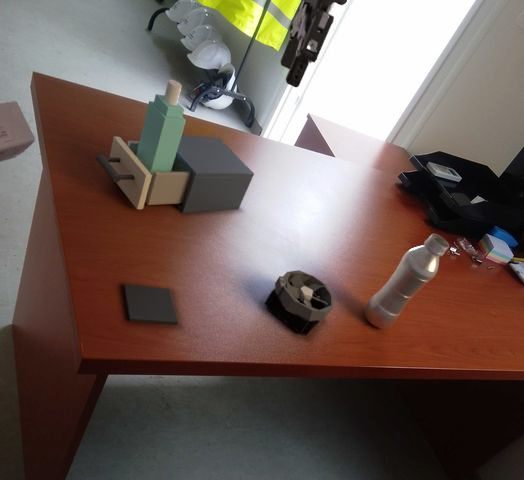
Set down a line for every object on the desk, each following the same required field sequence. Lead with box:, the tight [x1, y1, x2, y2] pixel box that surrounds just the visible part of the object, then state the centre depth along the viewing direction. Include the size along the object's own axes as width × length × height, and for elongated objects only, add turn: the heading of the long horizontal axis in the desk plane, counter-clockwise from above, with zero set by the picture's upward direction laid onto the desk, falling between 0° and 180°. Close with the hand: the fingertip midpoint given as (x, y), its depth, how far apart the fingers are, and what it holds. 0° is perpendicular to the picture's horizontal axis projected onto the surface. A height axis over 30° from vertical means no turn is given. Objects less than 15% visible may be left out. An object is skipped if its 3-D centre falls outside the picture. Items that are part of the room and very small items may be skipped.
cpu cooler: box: [264, 269, 335, 337], centre depth 80 cm, size 10×6×10 cm
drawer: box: [95, 136, 193, 210], centre depth 83 cm, size 18×11×7 cm, turn 132°
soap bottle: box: [136, 79, 187, 193], centre depth 79 cm, size 4×5×18 cm
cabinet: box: [175, 134, 255, 214], centre depth 91 cm, size 15×13×9 cm
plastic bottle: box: [364, 233, 450, 329], centre depth 84 cm, size 6×7×20 cm
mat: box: [123, 283, 179, 325], centre depth 67 cm, size 7×7×1 cm
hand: (288, 75), depth 74 cm, fingers open, 8 cm apart
